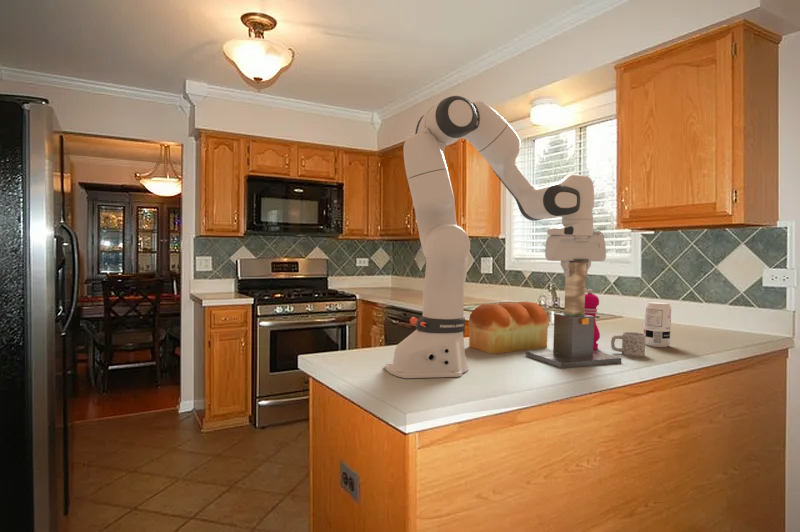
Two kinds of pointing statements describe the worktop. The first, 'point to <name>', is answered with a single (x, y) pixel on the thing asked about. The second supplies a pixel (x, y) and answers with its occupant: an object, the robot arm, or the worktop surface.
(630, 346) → the mug
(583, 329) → the stand
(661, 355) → the worktop surface
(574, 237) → the robot arm
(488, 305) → the bread
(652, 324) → the supplement can
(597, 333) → the pink tall rounded piece
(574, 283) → the column
